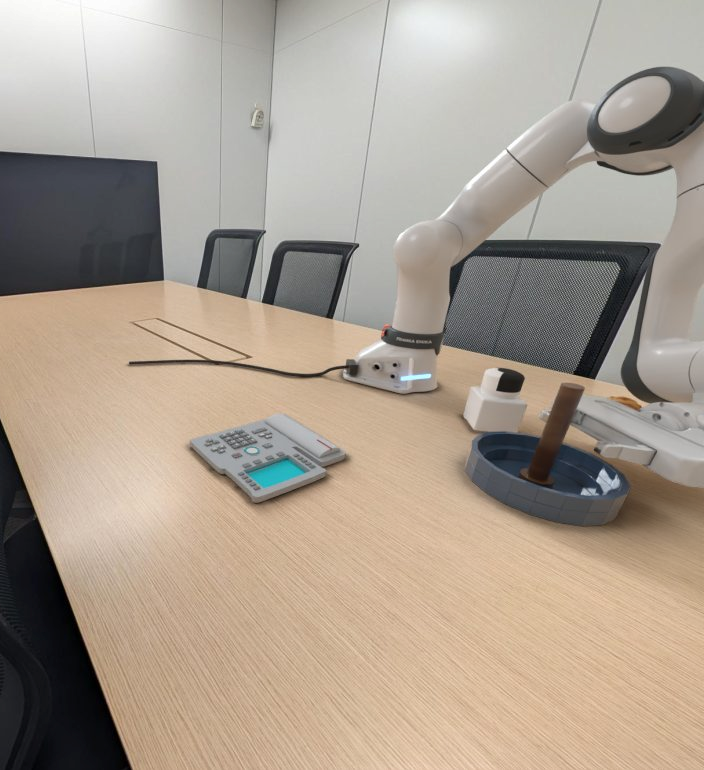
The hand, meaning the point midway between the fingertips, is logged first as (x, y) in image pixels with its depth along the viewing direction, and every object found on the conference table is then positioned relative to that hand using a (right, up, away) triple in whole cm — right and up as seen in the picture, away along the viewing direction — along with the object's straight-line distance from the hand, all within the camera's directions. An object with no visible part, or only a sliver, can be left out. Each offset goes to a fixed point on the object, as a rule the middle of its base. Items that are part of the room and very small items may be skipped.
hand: (569, 431), depth 54 cm
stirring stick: (-2, -9, +4) cm, 10 cm away
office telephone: (-41, -6, +14) cm, 43 cm away
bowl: (-2, -9, +4) cm, 10 cm away
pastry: (+34, 0, +24) cm, 41 cm away
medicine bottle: (+5, -2, +22) cm, 22 cm away
